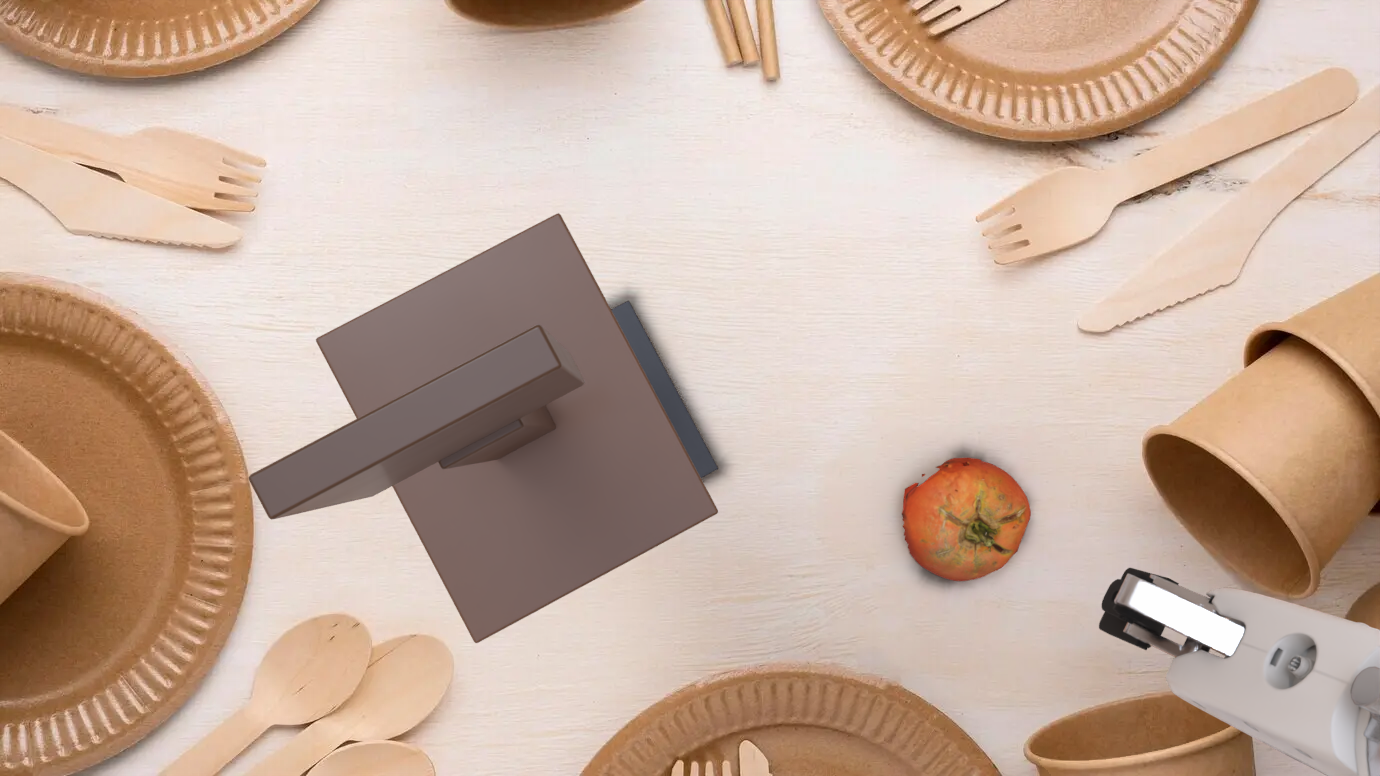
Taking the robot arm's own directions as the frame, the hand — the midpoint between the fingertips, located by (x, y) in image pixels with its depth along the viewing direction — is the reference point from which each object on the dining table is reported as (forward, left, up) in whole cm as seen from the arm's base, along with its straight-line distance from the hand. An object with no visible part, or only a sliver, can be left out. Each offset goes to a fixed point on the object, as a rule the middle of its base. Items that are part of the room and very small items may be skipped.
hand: (1209, 648), depth 49 cm
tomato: (+7, +4, -18) cm, 20 cm away
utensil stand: (+23, +22, -18) cm, 36 cm away
